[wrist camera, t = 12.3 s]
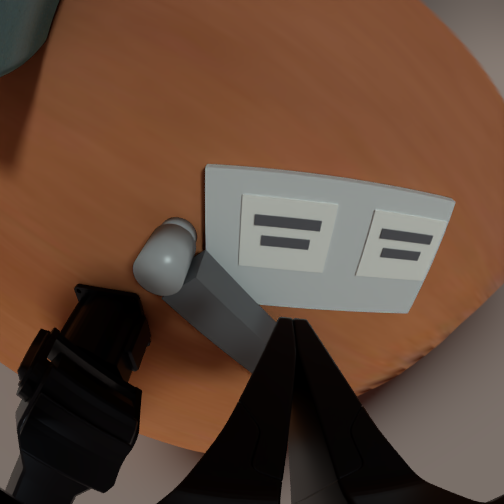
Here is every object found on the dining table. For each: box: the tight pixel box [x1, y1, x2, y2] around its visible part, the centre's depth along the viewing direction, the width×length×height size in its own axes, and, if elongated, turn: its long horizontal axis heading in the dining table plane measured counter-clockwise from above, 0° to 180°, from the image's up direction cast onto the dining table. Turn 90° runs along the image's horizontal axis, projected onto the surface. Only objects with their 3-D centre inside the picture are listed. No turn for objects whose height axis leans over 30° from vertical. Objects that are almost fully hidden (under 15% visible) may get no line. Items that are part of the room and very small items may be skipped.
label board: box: [162, 164, 455, 313], centre depth 19 cm, size 19×10×1 cm, turn 86°
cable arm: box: [133, 224, 276, 373], centre depth 21 cm, size 20×3×3 cm, turn 37°
